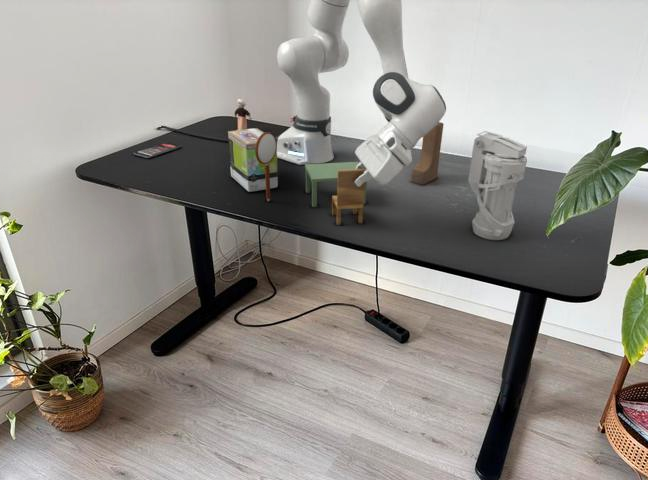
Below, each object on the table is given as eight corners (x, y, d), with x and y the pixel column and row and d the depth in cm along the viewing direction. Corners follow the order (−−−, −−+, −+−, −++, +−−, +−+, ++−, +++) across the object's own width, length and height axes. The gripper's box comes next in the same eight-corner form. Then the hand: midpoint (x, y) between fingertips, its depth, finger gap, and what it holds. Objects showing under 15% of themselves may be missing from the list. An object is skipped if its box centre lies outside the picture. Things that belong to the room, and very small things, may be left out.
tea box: (279, 187, 164) (277, 139, 156) (248, 193, 159) (245, 144, 152) (259, 171, 175) (257, 126, 167) (230, 176, 170) (226, 130, 163)
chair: (331, 214, 149) (332, 161, 141) (356, 212, 151) (358, 160, 143) (337, 225, 143) (338, 171, 136) (362, 223, 145) (365, 169, 137)
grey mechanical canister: (517, 231, 144) (537, 139, 131) (500, 244, 137) (520, 148, 124) (473, 217, 151) (488, 128, 138) (455, 229, 144) (469, 136, 131)
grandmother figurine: (232, 132, 210) (229, 99, 204) (235, 129, 214) (233, 97, 207) (251, 134, 209) (249, 100, 203) (254, 131, 213) (252, 98, 206)
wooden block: (422, 185, 170) (428, 128, 160) (410, 181, 172) (416, 125, 163) (437, 178, 176) (444, 122, 166) (425, 174, 178) (431, 120, 169)
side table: (305, 191, 162) (304, 164, 158) (356, 188, 166) (357, 161, 161) (312, 207, 152) (312, 179, 148) (366, 204, 156) (368, 176, 151)
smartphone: (180, 145, 192) (147, 156, 181) (181, 147, 192) (147, 158, 181) (166, 141, 195) (132, 152, 184) (166, 143, 196) (132, 154, 184)
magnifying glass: (275, 195, 159) (273, 128, 148) (280, 197, 158) (278, 129, 148) (256, 205, 152) (252, 135, 142) (261, 207, 151) (257, 136, 141)
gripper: (374, 122, 143) (337, 160, 146) (397, 146, 126) (355, 188, 129) (388, 138, 146) (352, 174, 149) (414, 164, 129) (372, 204, 132)
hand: (354, 181), depth 139 cm, fingers closed
